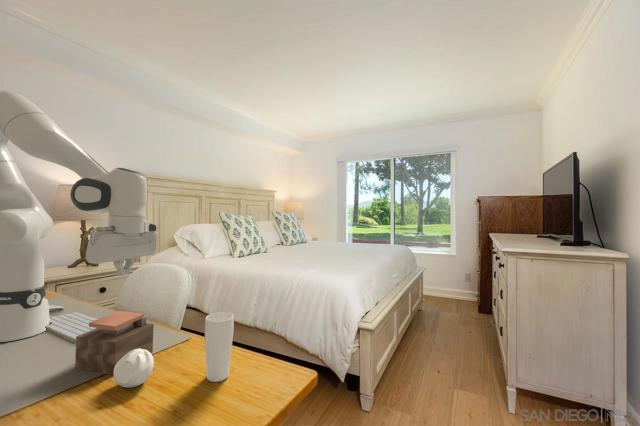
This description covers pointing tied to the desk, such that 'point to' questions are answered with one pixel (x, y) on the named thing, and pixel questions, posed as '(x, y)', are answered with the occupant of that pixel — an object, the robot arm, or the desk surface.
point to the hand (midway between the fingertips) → (123, 274)
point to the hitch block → (111, 346)
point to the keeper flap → (116, 320)
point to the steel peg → (118, 331)
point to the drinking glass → (218, 345)
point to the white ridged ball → (133, 368)
